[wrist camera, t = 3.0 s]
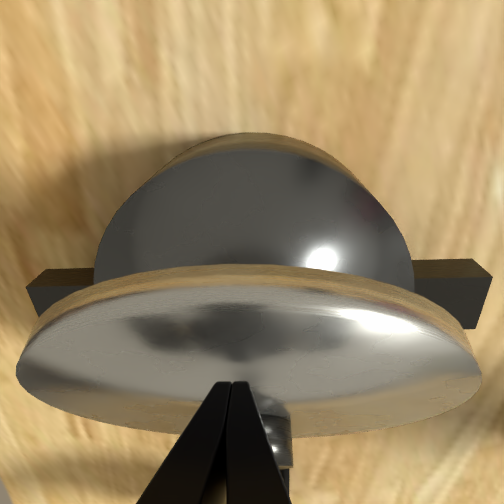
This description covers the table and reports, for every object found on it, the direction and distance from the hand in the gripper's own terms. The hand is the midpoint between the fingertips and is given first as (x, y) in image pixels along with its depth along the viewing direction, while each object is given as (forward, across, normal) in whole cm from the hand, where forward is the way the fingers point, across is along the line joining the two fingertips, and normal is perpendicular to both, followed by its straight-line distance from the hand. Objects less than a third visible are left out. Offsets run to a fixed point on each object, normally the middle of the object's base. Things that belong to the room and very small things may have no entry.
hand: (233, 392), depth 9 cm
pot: (+13, 0, +4) cm, 13 cm away
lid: (+4, 0, +4) cm, 6 cm away
